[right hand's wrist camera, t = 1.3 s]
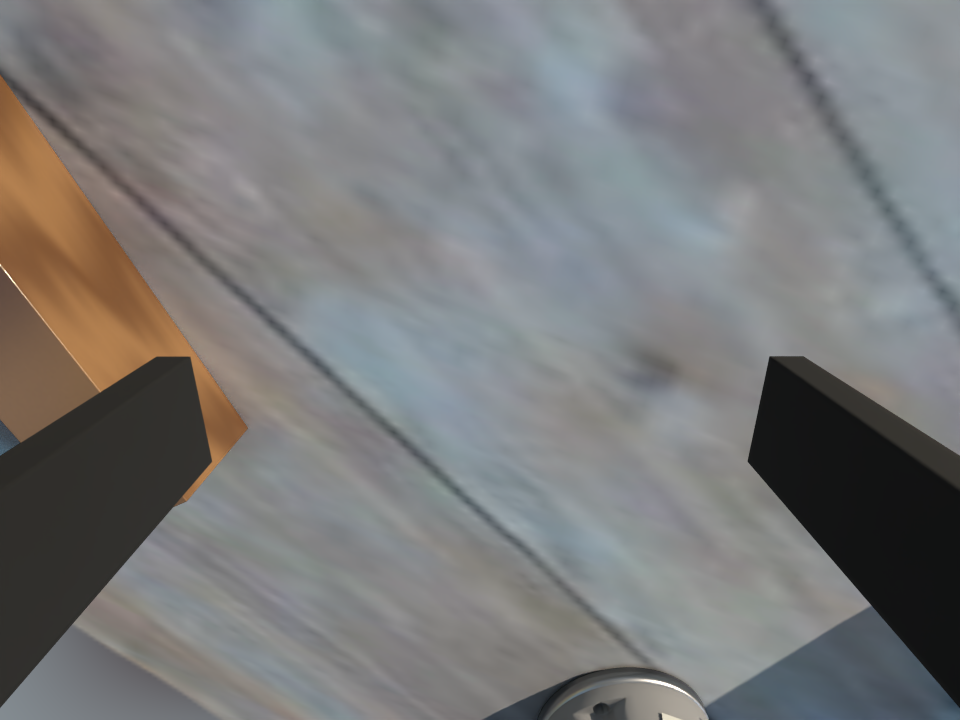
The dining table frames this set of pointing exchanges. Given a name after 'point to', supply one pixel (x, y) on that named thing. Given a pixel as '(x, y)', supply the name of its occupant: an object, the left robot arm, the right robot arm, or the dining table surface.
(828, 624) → the dining table surface
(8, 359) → the bar
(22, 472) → the right robot arm
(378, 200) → the dining table surface
